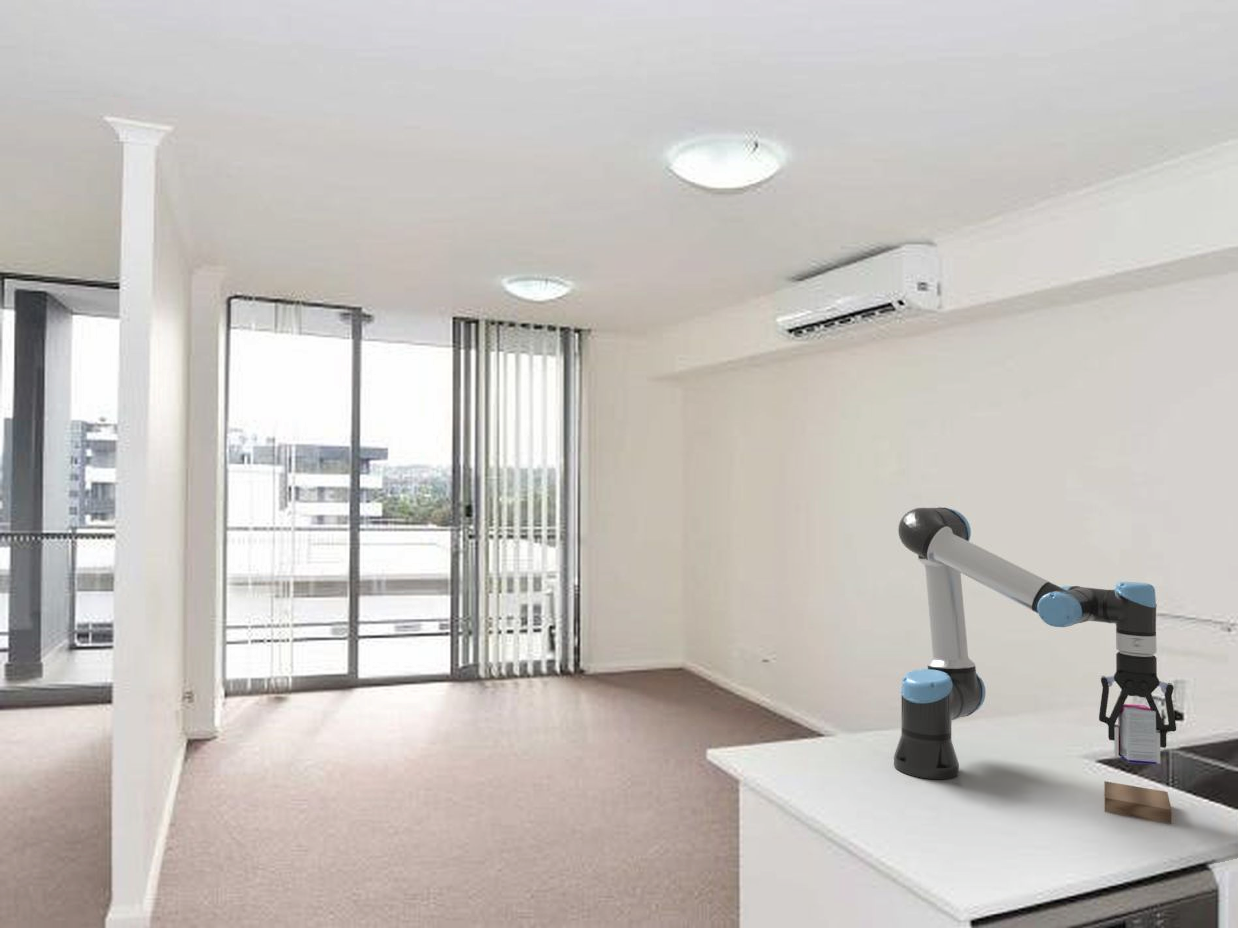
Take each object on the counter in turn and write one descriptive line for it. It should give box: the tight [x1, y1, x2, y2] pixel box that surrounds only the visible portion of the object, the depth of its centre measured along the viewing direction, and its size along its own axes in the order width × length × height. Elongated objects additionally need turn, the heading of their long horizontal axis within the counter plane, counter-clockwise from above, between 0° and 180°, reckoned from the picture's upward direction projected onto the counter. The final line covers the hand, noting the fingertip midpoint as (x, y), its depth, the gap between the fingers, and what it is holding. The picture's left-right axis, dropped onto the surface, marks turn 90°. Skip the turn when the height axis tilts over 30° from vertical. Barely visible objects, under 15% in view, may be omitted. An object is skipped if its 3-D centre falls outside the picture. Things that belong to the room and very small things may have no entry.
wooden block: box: [1103, 780, 1173, 825], centre depth 179 cm, size 12×12×3 cm
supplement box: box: [1117, 703, 1158, 765], centre depth 179 cm, size 6×6×12 cm
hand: (1137, 758), depth 179 cm, fingers closed on supplement box, 7 cm apart
